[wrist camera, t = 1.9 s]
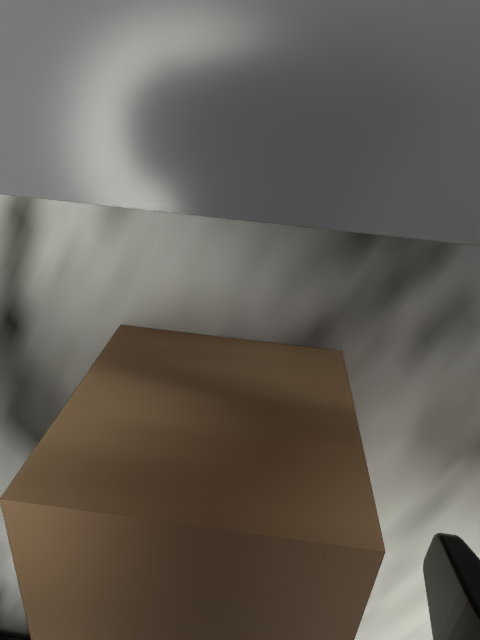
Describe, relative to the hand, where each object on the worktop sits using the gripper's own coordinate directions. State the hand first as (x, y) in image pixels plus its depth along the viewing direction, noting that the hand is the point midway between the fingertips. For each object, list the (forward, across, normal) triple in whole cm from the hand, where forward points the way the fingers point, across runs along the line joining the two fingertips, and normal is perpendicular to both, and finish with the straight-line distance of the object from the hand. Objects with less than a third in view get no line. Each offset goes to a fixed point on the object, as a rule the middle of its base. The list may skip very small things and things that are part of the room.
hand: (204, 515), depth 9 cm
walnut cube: (+3, 0, 0) cm, 3 cm away
